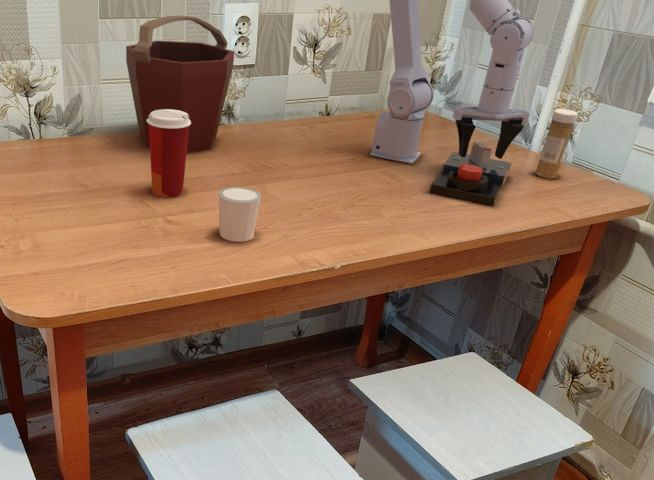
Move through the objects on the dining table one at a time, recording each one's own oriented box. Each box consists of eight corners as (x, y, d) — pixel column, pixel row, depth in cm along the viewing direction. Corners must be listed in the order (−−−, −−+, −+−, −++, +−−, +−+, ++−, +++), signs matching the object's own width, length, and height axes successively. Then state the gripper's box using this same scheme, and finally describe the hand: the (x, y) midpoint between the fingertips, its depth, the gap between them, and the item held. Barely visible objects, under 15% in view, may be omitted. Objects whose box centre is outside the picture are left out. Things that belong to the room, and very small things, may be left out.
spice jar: (561, 177, 149) (583, 112, 141) (548, 180, 147) (569, 115, 139) (542, 170, 152) (563, 107, 145) (529, 173, 150) (549, 109, 142)
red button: (454, 179, 135) (457, 168, 134) (459, 172, 138) (461, 162, 137) (478, 184, 133) (481, 173, 132) (482, 177, 136) (484, 167, 135)
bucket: (146, 162, 142) (147, 28, 128) (105, 131, 158) (101, 9, 144) (249, 149, 153) (259, 24, 139) (200, 121, 169) (206, 6, 155)
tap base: (439, 178, 144) (443, 163, 142) (449, 165, 152) (453, 150, 150) (500, 191, 140) (504, 175, 138) (507, 176, 147) (511, 161, 146)
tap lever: (469, 158, 146) (473, 139, 144) (476, 158, 146) (481, 140, 144) (479, 168, 141) (484, 149, 139) (487, 168, 142) (492, 149, 139)
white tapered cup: (214, 225, 118) (216, 185, 114) (254, 226, 118) (258, 186, 114) (217, 243, 112) (220, 201, 108) (260, 243, 113) (264, 202, 109)
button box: (429, 193, 136) (433, 175, 134) (437, 181, 142) (442, 164, 141) (492, 206, 132) (498, 189, 130) (499, 194, 138) (504, 176, 136)
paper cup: (194, 188, 131) (197, 112, 124) (179, 202, 125) (181, 122, 118) (155, 181, 133) (156, 105, 126) (139, 194, 127) (139, 116, 120)
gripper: (469, 90, 132) (452, 161, 139) (544, 93, 133) (522, 164, 140) (456, 81, 138) (440, 150, 145) (528, 85, 139) (508, 152, 146)
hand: (480, 156), depth 143 cm, fingers open, 7 cm apart
